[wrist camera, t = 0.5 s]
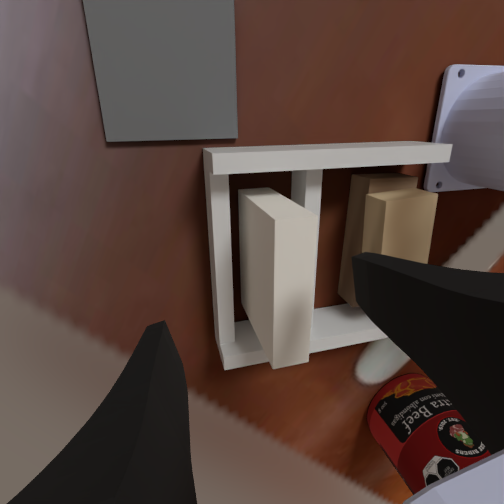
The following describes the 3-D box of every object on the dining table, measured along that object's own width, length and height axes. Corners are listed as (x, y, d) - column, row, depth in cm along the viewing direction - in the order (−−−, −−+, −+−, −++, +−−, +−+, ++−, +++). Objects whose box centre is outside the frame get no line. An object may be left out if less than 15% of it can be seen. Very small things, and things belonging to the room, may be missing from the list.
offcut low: (392, 171, 23) (418, 177, 21) (374, 286, 26) (394, 301, 24) (348, 173, 22) (370, 179, 20) (335, 291, 26) (352, 307, 23)
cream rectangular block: (268, 187, 21) (318, 215, 14) (268, 298, 24) (308, 361, 17) (237, 189, 20) (274, 219, 14) (240, 302, 23) (272, 369, 17)
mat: (230, -89, 15) (231, -93, 15) (236, 137, 19) (237, 138, 19) (64, -113, 14) (63, -117, 13) (107, 141, 17) (106, 141, 17)
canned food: (435, 361, 31) (565, 471, 21) (428, 420, 35) (537, 539, 25) (364, 384, 30) (467, 514, 20) (363, 444, 33) (452, 581, 23)
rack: (410, 141, 22) (452, 144, 19) (384, 307, 27) (414, 332, 24) (202, 148, 19) (212, 153, 16) (215, 337, 24) (224, 370, 20)
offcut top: (414, 187, 21) (438, 193, 19) (402, 284, 24) (422, 297, 22) (365, 194, 20) (386, 201, 19) (358, 293, 23) (376, 307, 21)
